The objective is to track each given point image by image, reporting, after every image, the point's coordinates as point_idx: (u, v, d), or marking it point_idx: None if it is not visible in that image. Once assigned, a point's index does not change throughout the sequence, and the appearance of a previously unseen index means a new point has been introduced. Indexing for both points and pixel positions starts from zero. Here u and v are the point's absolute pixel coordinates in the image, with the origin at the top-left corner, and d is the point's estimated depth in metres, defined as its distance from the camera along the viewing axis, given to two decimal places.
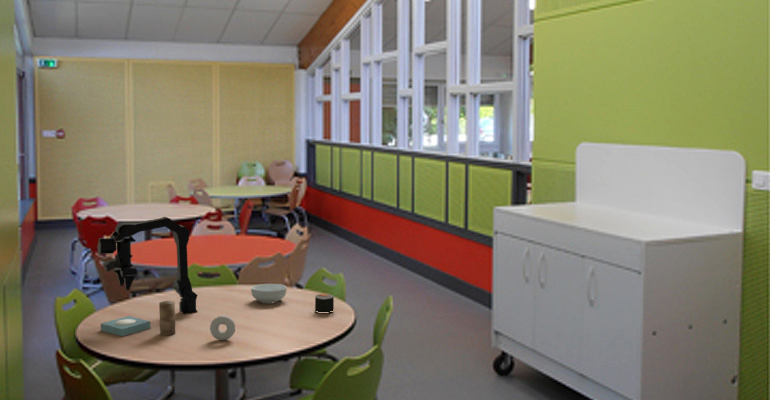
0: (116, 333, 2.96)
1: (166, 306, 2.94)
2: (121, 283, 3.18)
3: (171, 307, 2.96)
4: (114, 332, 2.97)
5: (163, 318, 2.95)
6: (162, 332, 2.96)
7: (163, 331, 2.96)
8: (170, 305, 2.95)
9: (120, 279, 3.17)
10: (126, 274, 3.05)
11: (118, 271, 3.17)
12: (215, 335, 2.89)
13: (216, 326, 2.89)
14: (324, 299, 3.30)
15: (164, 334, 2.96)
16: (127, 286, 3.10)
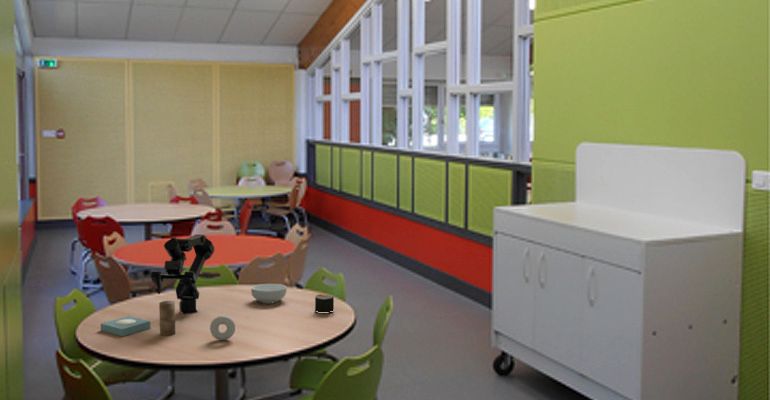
0: (116, 333, 2.96)
1: (166, 306, 2.94)
2: (159, 291, 3.09)
3: (171, 307, 2.96)
4: (114, 332, 2.97)
5: (163, 318, 2.95)
6: (162, 332, 2.96)
7: (163, 331, 2.96)
8: (170, 305, 2.95)
9: (159, 287, 3.10)
10: (193, 276, 3.11)
11: (160, 279, 3.11)
12: (215, 335, 2.89)
13: (216, 326, 2.89)
14: (324, 299, 3.30)
15: (164, 334, 2.96)
16: (182, 290, 3.09)
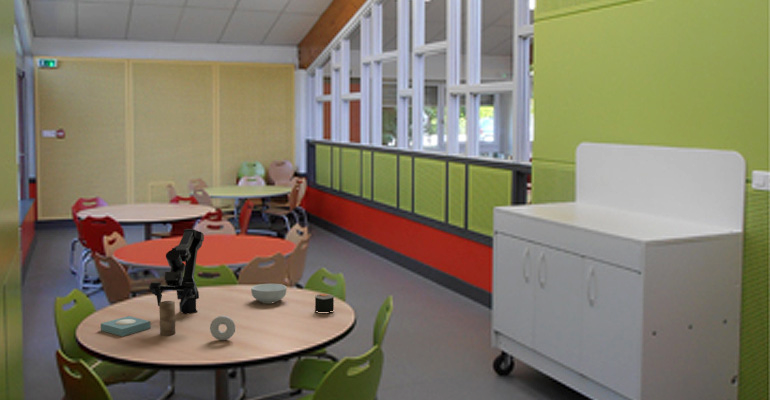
0: (116, 333, 2.96)
1: (166, 306, 2.94)
2: None
3: (171, 307, 2.96)
4: (114, 332, 2.97)
5: (163, 318, 2.95)
6: (162, 332, 2.96)
7: (163, 331, 2.96)
8: (170, 305, 2.95)
9: (159, 299, 3.03)
10: (194, 287, 3.05)
11: (159, 290, 3.04)
12: (215, 335, 2.89)
13: (216, 326, 2.89)
14: (324, 299, 3.30)
15: (164, 334, 2.96)
16: (183, 301, 3.02)
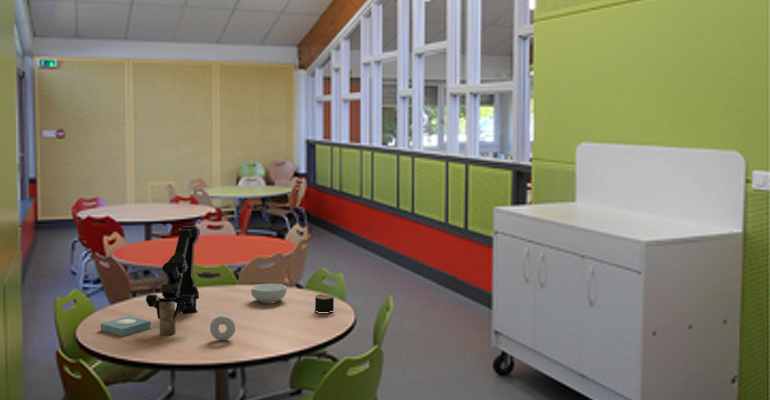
0: (116, 333, 2.96)
1: (166, 306, 2.94)
2: (159, 316, 2.97)
3: (171, 307, 2.96)
4: (114, 332, 2.97)
5: (163, 318, 2.95)
6: (162, 332, 2.96)
7: (163, 331, 2.96)
8: (170, 305, 2.95)
9: (159, 312, 2.98)
10: (191, 300, 3.00)
11: None
12: (215, 335, 2.89)
13: (216, 326, 2.89)
14: (324, 299, 3.30)
15: (164, 334, 2.96)
16: (176, 314, 2.98)
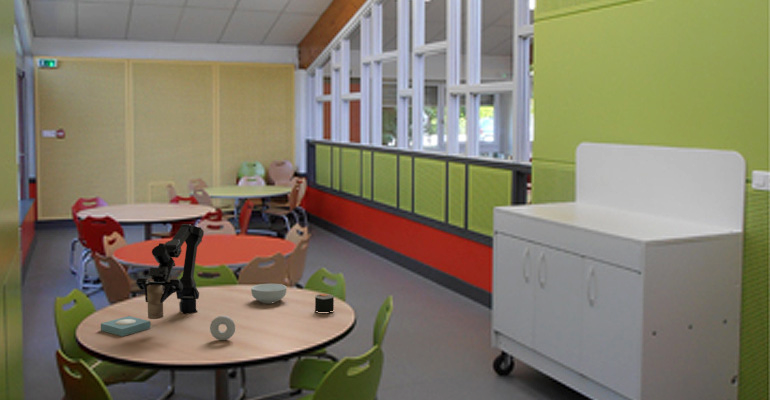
0: (116, 333, 2.96)
1: (153, 289, 2.94)
2: None
3: (158, 290, 2.95)
4: (114, 332, 2.97)
5: (150, 301, 2.95)
6: (149, 315, 2.96)
7: (150, 314, 2.95)
8: (157, 288, 2.94)
9: None
10: (179, 284, 2.98)
11: None
12: (215, 335, 2.89)
13: (216, 326, 2.89)
14: (324, 299, 3.30)
15: (151, 317, 2.95)
16: (163, 298, 2.96)
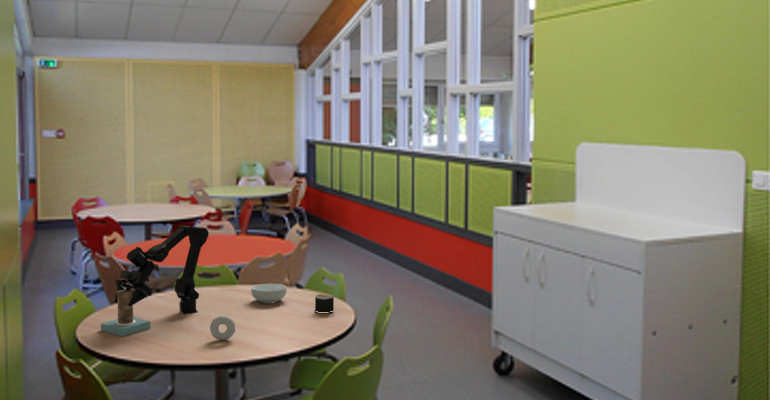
0: (116, 333, 2.96)
1: (119, 294, 3.00)
2: (116, 300, 3.05)
3: (124, 296, 3.00)
4: (114, 332, 2.97)
5: (118, 305, 3.01)
6: (118, 319, 3.02)
7: (118, 318, 3.02)
8: (123, 294, 2.99)
9: None
10: (145, 289, 2.99)
11: (121, 288, 3.07)
12: (215, 335, 2.89)
13: (216, 326, 2.89)
14: (324, 299, 3.30)
15: (118, 321, 3.02)
16: (132, 302, 2.99)
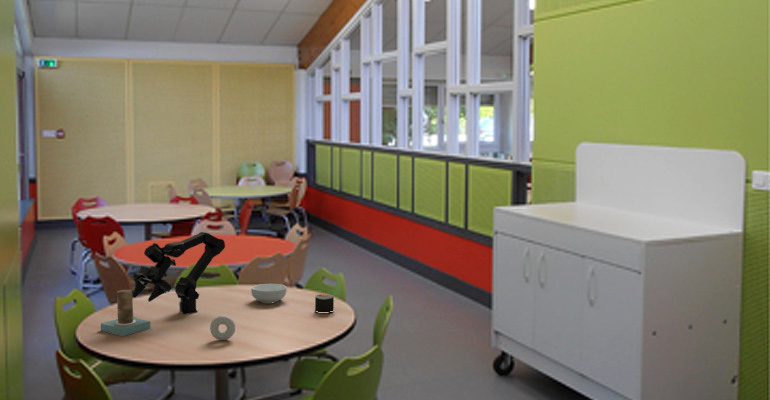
0: (116, 333, 2.96)
1: (119, 294, 2.99)
2: (135, 294, 3.13)
3: (124, 296, 3.00)
4: (114, 332, 2.97)
5: (117, 305, 3.01)
6: (118, 319, 3.02)
7: (118, 319, 3.02)
8: (123, 294, 2.99)
9: (137, 290, 3.13)
10: (164, 285, 3.08)
11: (139, 282, 3.15)
12: (215, 335, 2.89)
13: (216, 326, 2.89)
14: (324, 299, 3.30)
15: (118, 322, 3.02)
16: (151, 297, 3.08)
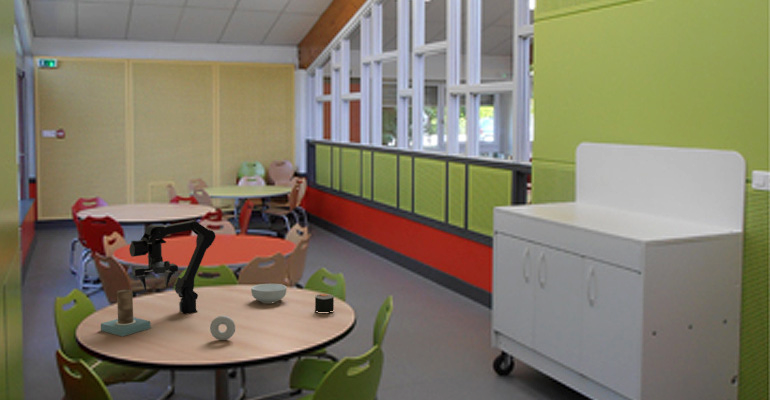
0: (116, 333, 2.96)
1: (119, 294, 2.99)
2: None
3: (124, 296, 2.99)
4: (114, 332, 2.97)
5: (117, 305, 3.01)
6: (118, 319, 3.02)
7: (118, 318, 3.02)
8: (123, 294, 2.99)
9: None
10: None
11: None
12: (215, 335, 2.89)
13: (216, 326, 2.89)
14: (324, 299, 3.30)
15: (118, 321, 3.02)
16: None
